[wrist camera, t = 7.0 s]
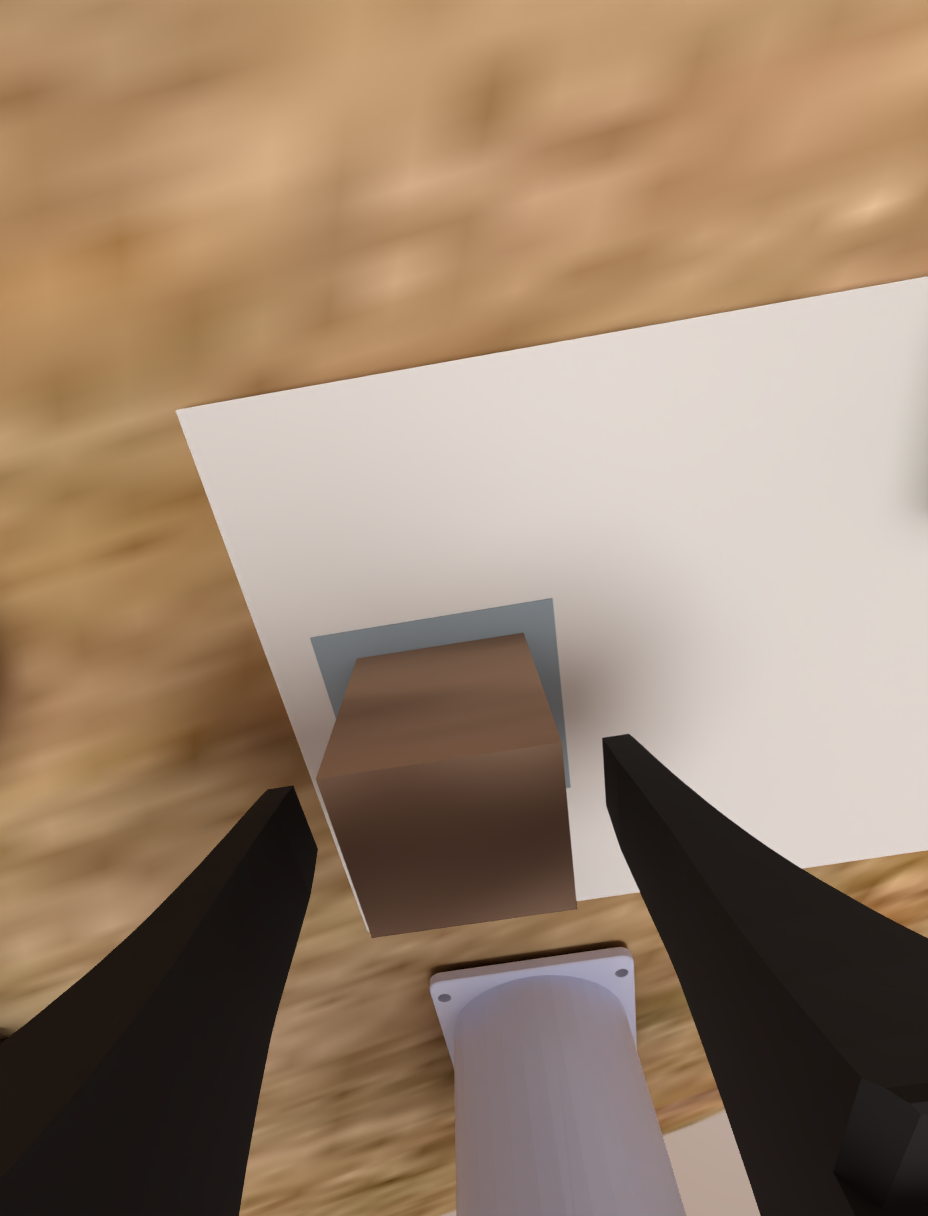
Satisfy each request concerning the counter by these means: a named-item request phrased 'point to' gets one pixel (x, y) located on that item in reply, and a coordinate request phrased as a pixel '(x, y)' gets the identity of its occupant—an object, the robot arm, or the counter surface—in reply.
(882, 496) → the board
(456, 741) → the walnut block
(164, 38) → the counter surface
